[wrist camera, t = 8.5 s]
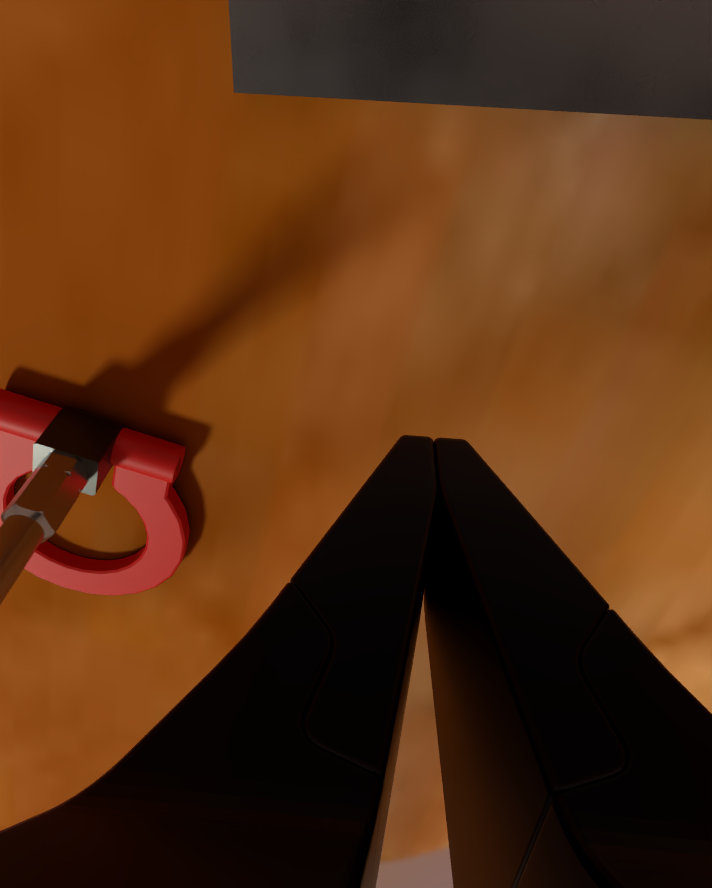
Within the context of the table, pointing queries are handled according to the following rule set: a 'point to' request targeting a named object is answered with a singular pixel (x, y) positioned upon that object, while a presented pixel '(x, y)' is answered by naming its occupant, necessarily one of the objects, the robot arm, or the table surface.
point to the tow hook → (83, 470)
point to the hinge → (482, 53)
